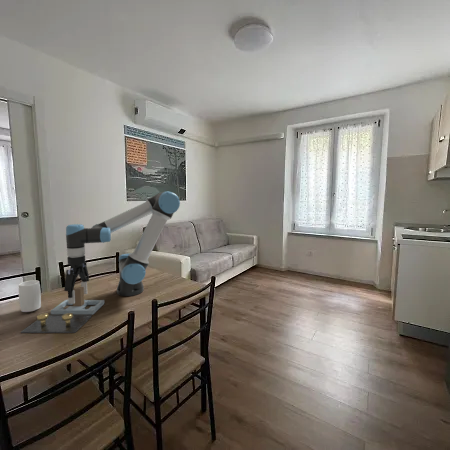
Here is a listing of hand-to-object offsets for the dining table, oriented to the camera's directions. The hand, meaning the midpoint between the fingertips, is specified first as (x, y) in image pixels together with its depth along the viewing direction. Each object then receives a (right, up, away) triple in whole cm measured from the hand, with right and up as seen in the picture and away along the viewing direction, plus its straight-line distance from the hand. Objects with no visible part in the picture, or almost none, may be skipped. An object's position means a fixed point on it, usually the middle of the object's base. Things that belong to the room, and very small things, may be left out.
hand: (78, 298), depth 123 cm
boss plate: (0, -7, -14) cm, 16 cm away
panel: (0, -5, +1) cm, 5 cm away
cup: (-22, -5, -2) cm, 23 cm away
